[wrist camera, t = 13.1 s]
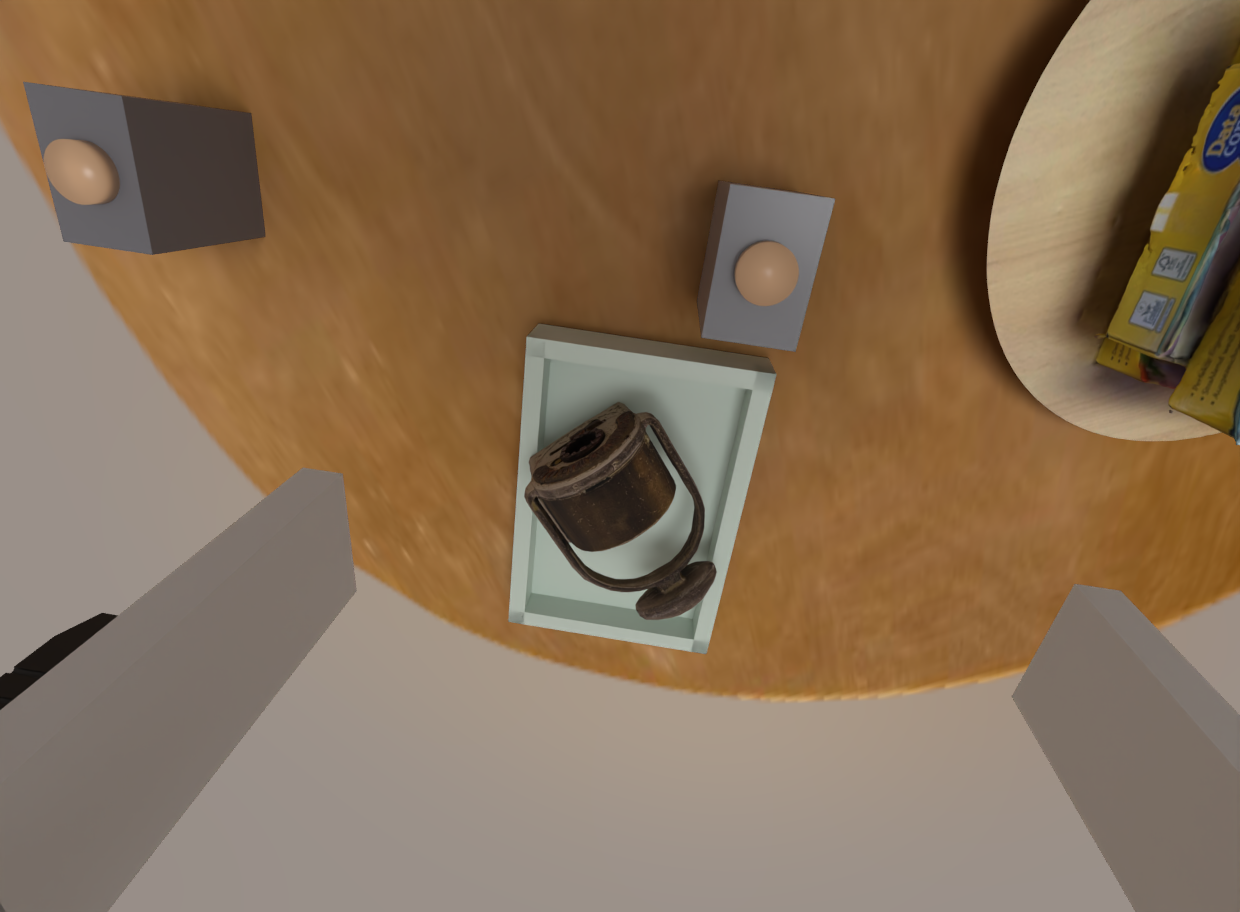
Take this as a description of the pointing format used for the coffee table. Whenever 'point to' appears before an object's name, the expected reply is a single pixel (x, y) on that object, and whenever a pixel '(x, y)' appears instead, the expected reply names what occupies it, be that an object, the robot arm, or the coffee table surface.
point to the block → (761, 264)
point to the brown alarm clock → (619, 504)
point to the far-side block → (146, 170)
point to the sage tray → (704, 439)
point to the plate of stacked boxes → (1127, 224)
